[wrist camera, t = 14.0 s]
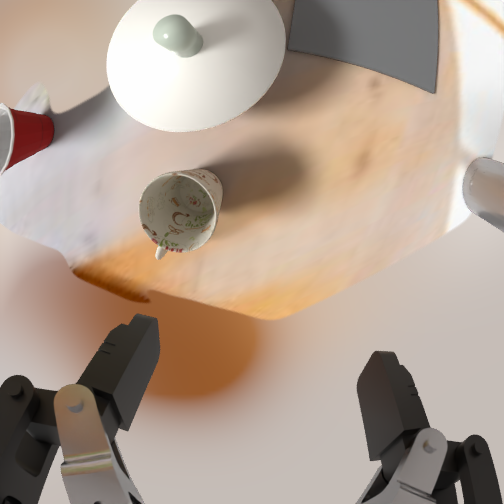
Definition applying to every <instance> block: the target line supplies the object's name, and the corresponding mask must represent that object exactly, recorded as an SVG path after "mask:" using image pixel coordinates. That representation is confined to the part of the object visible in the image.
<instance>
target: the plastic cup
mask: <svg viewBox="0 0 504 504" xmlns="http://www.w3.org/2000/svg"><path fill="white" fill-rule="evenodd" d="M53 135H54V125H53V122H52V120H51V118H49V117H48V116H46V115H41V114H36V113H31V112H25V111H18V110H14V109H10V108H8V107H7V106H6V105H5V104H4V103H0V176H1V175H2V174H3V172H4V171H5V170H7V169H9V168H10V167H12V166H13V165H14V164H16V163H18V162H20V161H22V160H24V159H26V158H28V157H30V156H32V155H34V154H36V153H37V152H39V151H41V150H43V149H45V148H46V147H48V145H49V144H50V143H51V141H52V139H53Z"/></svg>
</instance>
